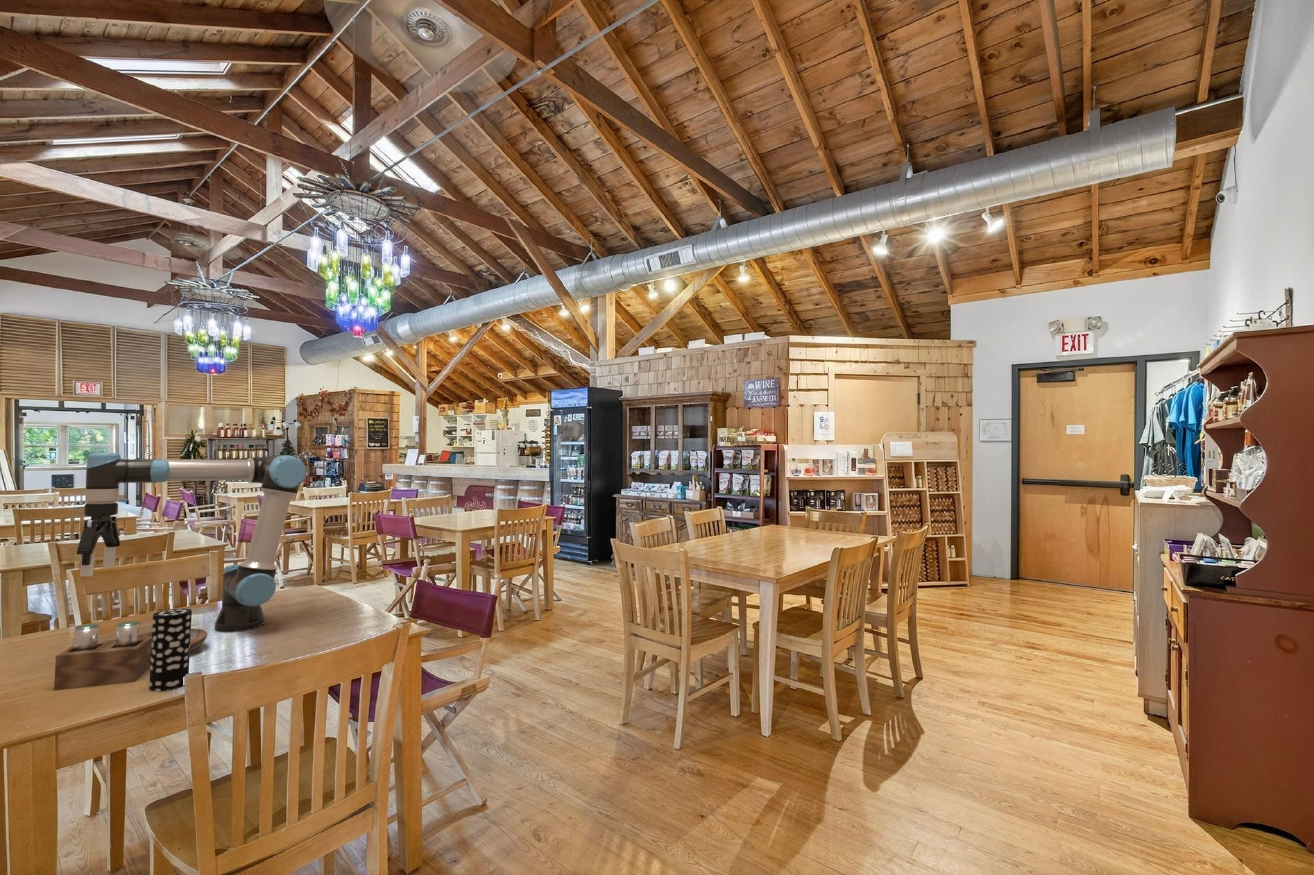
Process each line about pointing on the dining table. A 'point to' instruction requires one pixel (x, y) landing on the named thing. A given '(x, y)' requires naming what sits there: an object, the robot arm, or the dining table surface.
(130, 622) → the peg
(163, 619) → the white-spotted black cylinder
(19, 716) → the dining table surface
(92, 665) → the walnut block
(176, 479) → the robot arm
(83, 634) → the peg
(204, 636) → the ceramic bowl
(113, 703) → the dining table surface
